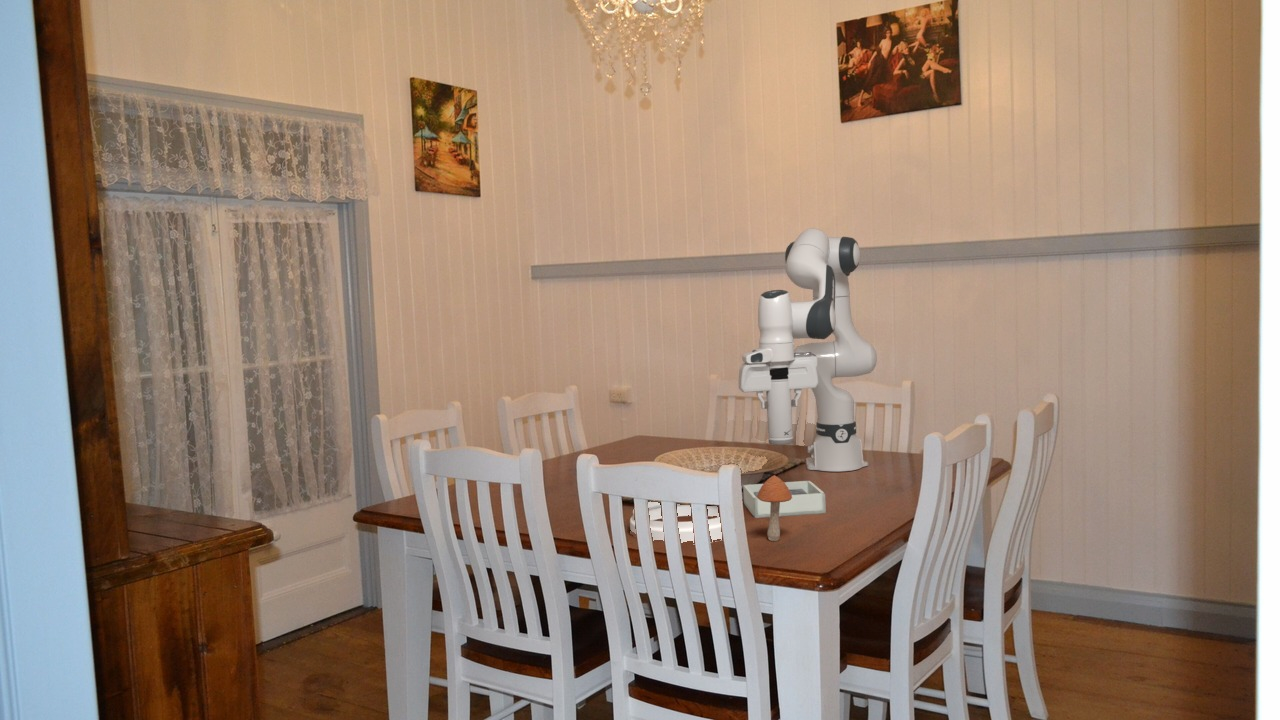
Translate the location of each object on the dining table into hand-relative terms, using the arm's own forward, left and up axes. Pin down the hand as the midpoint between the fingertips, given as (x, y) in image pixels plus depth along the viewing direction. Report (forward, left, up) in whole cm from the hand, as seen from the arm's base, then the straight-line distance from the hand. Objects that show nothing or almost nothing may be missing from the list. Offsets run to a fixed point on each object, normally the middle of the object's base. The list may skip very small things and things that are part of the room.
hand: (779, 407), depth 243 cm
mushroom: (+29, -8, -26) cm, 40 cm away
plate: (+14, -27, -27) cm, 41 cm away
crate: (0, 0, -26) cm, 26 cm away
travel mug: (0, 0, -9) cm, 9 cm away
